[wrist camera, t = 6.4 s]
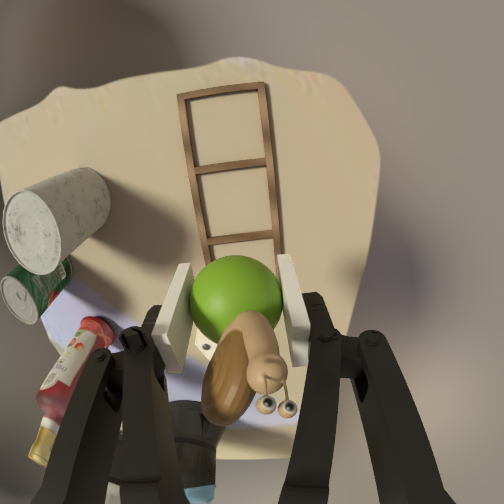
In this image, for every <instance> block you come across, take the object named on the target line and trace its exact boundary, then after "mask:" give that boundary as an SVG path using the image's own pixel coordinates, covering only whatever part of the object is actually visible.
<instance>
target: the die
mask: <svg viewBox="0 0 504 504" xmlns="http://www.w3.org/2000/svg"><path fill="white" fill-rule="evenodd" d="M195 345H196V346H197V347H198V348H199V349H200V350H201V352H202V353H203V354H204V355H205V356H206V357H207V358H208V359H209V361H210V360H211V358H212V356H213V354H214V352H215V350H216V347H217V344H216V343H214V342H212V341H211V340H209V339H208V338H207V337H205V336H204V335H203V334H202V333H201V332H200V330H199V329H198V328H197V333H196V338H195Z"/></svg>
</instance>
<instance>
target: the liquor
mask: <svg viewBox="0 0 504 504" xmlns="http://www.w3.org/2000/svg"><path fill="white" fill-rule="evenodd" d="M114 339H115V338H114V333H113V331H112V330H111V328H110V327H109V326H108V324H107V323H106V322H105V321H103V320H102V319H100V318H96V317H91V316H88V317H85V318H83V319H82V321H81V327H80V328H79V330H78V331H77V333H76V334H75V336H74V337H73V339H72V340H71V342H70V343H69V345H68V346H67V348H66V349H65V351H64V352H63V354H62V355H61V357H60V358H59V359H58V361H57V362H56V364H55V365H54V367H53V368H52V370H51V371H50V373H49V374H48V376H47V378H46V379H45V381H44V383H43V384H42V386H41V388H40V389H39V391H38V393H37V394H36V399H37V402H38V404H39V406H40V408H41V409H42V411H43V412H44V417H43V420H42V423H41V426H40V430H39V433H38V436H37V440H36V441H35V443H34V444H33V446H32V447H31V450H30V453H29V458H31V459H32V460H34V461H35V462H37V463H38V464H40V465H42V466H44V467H47V464H48V461H49V457H50V451H51V447H52V445H53V443H54V441H55V439H56V436H57V433H58V430H59V427H60V425H61V422H62V419H63V416H64V414H65V411H66V409H67V406H68V404H69V401H70V399H71V396H72V394H73V391H74V389H75V387H76V384H77V382H78V380H79V377H80V375H81V373H82V370H83V368H84V366H85V364H86V362H87V359H88V357H89V355H90V354H91V353H92V352H93V351H94V350H96V349H98V348H103V347H104V348H108V347H109V346H110V345H111V344H113V342H114Z"/></svg>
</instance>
